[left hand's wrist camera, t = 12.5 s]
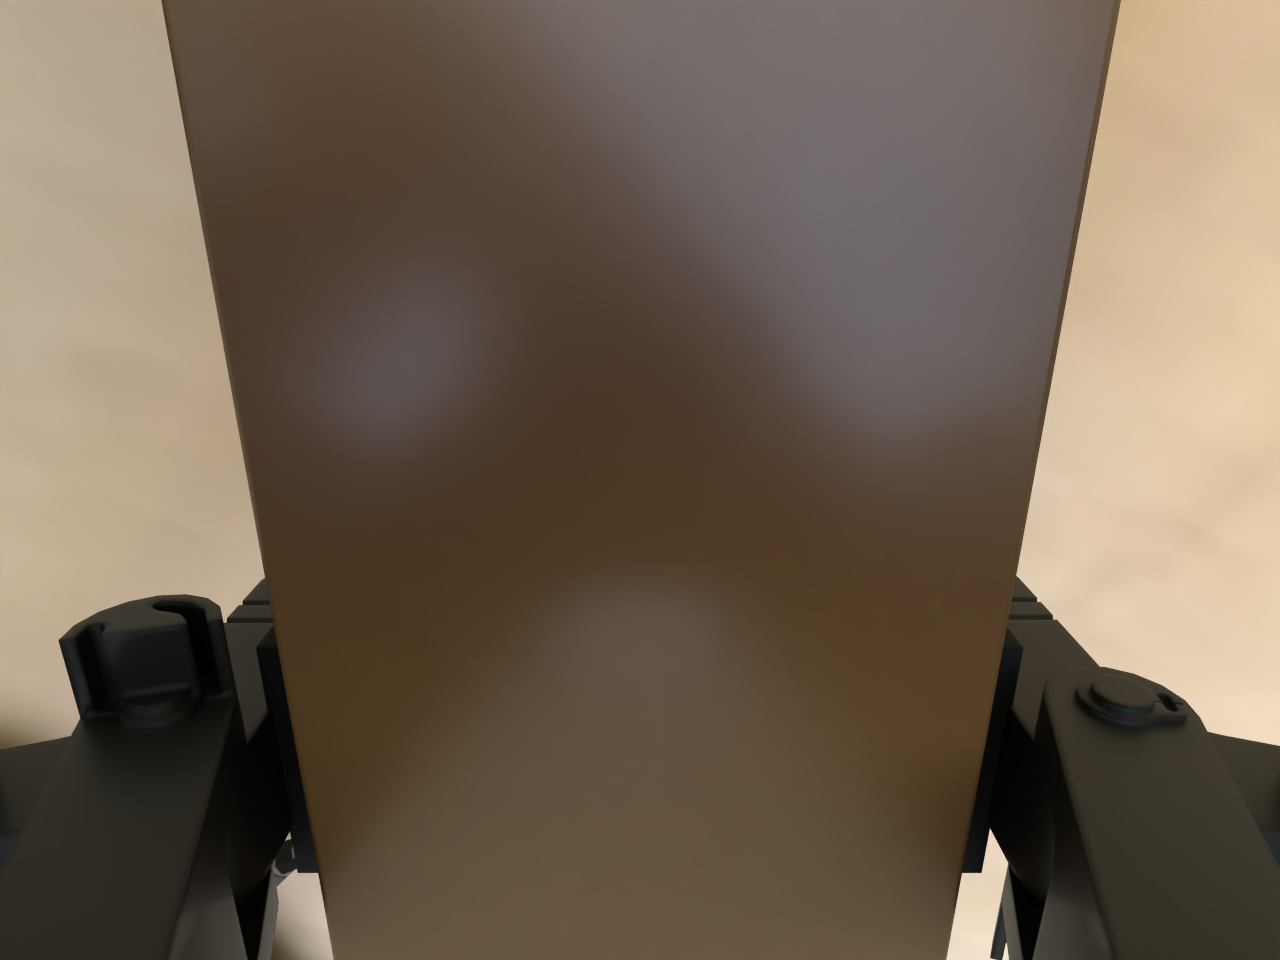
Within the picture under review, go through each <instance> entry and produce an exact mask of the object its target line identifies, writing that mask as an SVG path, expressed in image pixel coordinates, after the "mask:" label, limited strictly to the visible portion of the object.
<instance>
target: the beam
mask: <svg viewBox="0 0 1280 960" xmlns="http://www.w3.org/2000/svg"><path fill="white" fill-rule="evenodd" d="M1120 2H1121V0H162V6H163V12H164V17H165V23H166V28H167V34H168V39H169V45H170V51H171V56H172V62H173V67H174V73H175V78H176V84H177V89H178V95H179V101H180V106H181V112H182V117H183V123H184V128H185V134H186V140H187V145H188V151H189V156H190V162H191V167H192V173H193V178H194V184H195V190H196V195H197V201H198V206H199V212H200V217H201V223H202V229H203V234H204V240H205V245H206V251H207V256H208V262H209V267H210V273H211V279H212V284H213V290H214V295H215V301H216V306H217V312H218V318H219V323H220V329H221V334H222V340H223V345H224V351H225V356H226V362H227V368H228V373H229V379H230V384H231V390H232V395H233V401H234V407H235V412H236V418H237V423H238V429H239V434H240V440H241V445H242V451H243V457H244V462H245V468H246V473H247V479H248V484H249V490H250V496H251V501H252V507H253V512H254V518H255V523H256V529H257V534H258V540H259V546H260V551H261V557H262V562H263V568H264V573H265V579H266V585H267V590H268V596H269V601H270V607H271V612H272V618H273V623H274V629H275V635H276V640H277V646H278V651H279V657H280V662H281V668H282V674H283V679H284V685H285V690H286V696H287V701H288V707H289V712H290V718H291V724H292V729H293V735H294V740H295V746H296V751H297V757H298V763H299V768H300V774H301V779H302V785H303V790H304V796H305V802H306V807H307V813H308V818H309V824H310V829H311V835H312V840H313V846H314V852H315V857H316V863H317V868H318V874H319V879H320V885H321V891H322V896H323V902H324V907H325V913H326V918H327V924H328V929H329V935H330V941H331V946H332V952H333V957H334V960H946V958H947V952H948V947H949V941H950V936H951V930H952V925H953V919H954V914H955V908H956V903H957V897H958V892H959V886H960V881H961V875H962V870H963V864H964V859H965V853H966V848H967V842H968V837H969V831H970V826H971V820H972V815H973V809H974V804H975V798H976V793H977V787H978V782H979V776H980V771H981V765H982V760H983V754H984V749H985V743H986V738H987V732H988V727H989V721H990V716H991V710H992V705H993V699H994V694H995V689H996V683H997V678H998V672H999V667H1000V661H1001V656H1002V650H1003V645H1004V639H1005V634H1006V628H1007V623H1008V617H1009V612H1010V606H1011V601H1012V595H1013V590H1014V584H1015V579H1016V573H1017V568H1018V562H1019V557H1020V551H1021V546H1022V540H1023V535H1024V529H1025V524H1026V518H1027V513H1028V507H1029V502H1030V496H1031V491H1032V485H1033V480H1034V474H1035V469H1036V463H1037V458H1038V452H1039V447H1040V441H1041V436H1042V430H1043V425H1044V419H1045V414H1046V408H1047V403H1048V397H1049V392H1050V386H1051V381H1052V375H1053V370H1054V364H1055V359H1056V353H1057V348H1058V342H1059V337H1060V331H1061V326H1062V320H1063V315H1064V309H1065V304H1066V298H1067V293H1068V287H1069V282H1070V276H1071V271H1072V265H1073V260H1074V254H1075V249H1076V243H1077V238H1078V232H1079V227H1080V221H1081V216H1082V210H1083V205H1084V200H1085V194H1086V189H1087V183H1088V178H1089V172H1090V167H1091V161H1092V156H1093V150H1094V145H1095V139H1096V134H1097V128H1098V123H1099V117H1100V112H1101V106H1102V101H1103V95H1104V90H1105V84H1106V79H1107V73H1108V68H1109V62H1110V57H1111V51H1112V46H1113V40H1114V35H1115V29H1116V24H1117V18H1118V13H1119V7H1120Z"/></svg>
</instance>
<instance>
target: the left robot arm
mask: <svg viewBox="0 0 1280 960" xmlns="http://www.w3.org/2000/svg"><path fill="white" fill-rule="evenodd" d="M59 644H60V647H61V651H62V654H63V658H64V661H65V665H66V668H67V672H68V676H69V679H70V683H71V686H72V690H73V693H74V697H75V700H76V704H77V707H78V711H79V714H80V720H79V722H78V724H77V726H76V728H75V730H74V732H73V733H72V735H71V736H69V737H64V738H60V739H55V740H50V741H45V742H40V743H34V744H29V745H24V746H18V747H13V748H8V749H3V750H0V960H271V956H272V948H273V941H274V933H275V926H276V918H277V910H278V903H279V902H278V895H277V888H276V883H275V878H274V873H273V868H272V864H273V862H274V860H275V858H276V856H277V855H278V853H279V851H280V849H281V847H282V845H283V843H284V841H285V839H286V837H287V835H288V834H289V832H290V834H291V839H292V844H293V850H294V855H295V860H296V866H297V871H298V873H318V868H317V863H316V857H315V852H314V846H313V840H312V835H311V829H310V824H309V818H308V813H307V807H306V802H305V796H304V790H303V785H302V779H301V774H300V768H299V763H298V757H297V751H296V746H295V740H294V735H293V729H292V724H291V718H290V712H289V707H288V701H287V696H286V690H285V685H284V679H283V674H282V668H281V662H280V657H279V651H278V646H277V640H276V635H275V629H274V623H273V618H272V612H271V607H270V601H269V596H268V590H267V585H266V579H263V580H261V581H260V583H259V584H258V585H257V586H256V587H255V588H254V589H253V590H252V591H251V592H250V594H249V595H248V596H247V597H246V598H245V599H244V600H243V605H239V606H238V607H237V608H236V609H235V610H234V611H233V612H232V613H231V615H230V616H229V617H228V618H227V623H223V618H222V613H221V608H220V606H218V605H217V604H215V603H214V602H212V601H211V600H210V599H208V598H203V597H198V596H192V595H187V594H185V595H161V596H154V597H149V598H144V599H139V600H134V601H129V602H126V603H123V604H120V605H117V606H114V607H112V608H109V609H106V610H103V611H100V612H98V613H96V614H94V615H92V616H90V617H89V618H87V619H85V620H83V621H81V622H80V623H78V624H76V625H74V626H73V627H72V628H71V629H70V630H69V631H68V632H67V633H66V634H65V635H64V636H63V637H62V638H60V639H59ZM990 829H991V831H992V833H993V834H994V836H995V838H996V840H997V842H998V844H999V846H1000V848H1001V850H1002V852H1003V853H1004V855H1005V857H1006V859H1007V861H1008V868H1007V873H1006V878H1005V882H1004V887H1003V892H1002V897H1001V902H1000V907H999V912H998V917H997V922H996V927H995V932H994V937H993V943H992V950H991V956H990V958H992V959H996V960H1002V958H1003V953H1004V949H1005V944H1006V943H1007V946H1008V954H1009V960H1280V746H1277V745H1271V744H1266V743H1261V742H1255V741H1250V740H1245V739H1240V738H1234V737H1229V736H1224V735H1219V734H1215V733H1211V732H1207V730H1206V728H1205V726H1204V724H1203V722H1202V721H1201V719H1200V717H1199V716H1198V715H1197V714H1196V712H1195V711H1194V710H1193V709H1192V708H1191V707H1190V705H1189V704H1188V703H1187V702H1186V701H1185V700H1184V699H1182V698H1181V697H1179V696H1178V695H1176V694H1174V693H1173V692H1171V691H1170V690H1168V689H1167V688H1165V687H1164V686H1162V685H1160V684H1157V683H1155V682H1153V681H1150V680H1148V679H1145V678H1143V677H1140V676H1138V675H1136V674H1132V673H1128V672H1124V671H1120V670H1115V669H1111V668H1107V667H1100V666H1099V665H1098V664H1097V663H1096V662H1095V661H1094V660H1093V659H1092V658H1091V657H1090V656H1089V654H1088V653H1087V652H1086V651H1085V650H1084V649H1083V648H1082V647H1081V646H1080V645H1079V643H1078V642H1077V641H1076V640H1075V639H1074V638H1073V637H1072V636H1071V635H1070V634H1069V633H1068V631H1067V630H1066V629H1065V628H1064V627H1063V626H1062V625H1061V624H1060V623H1059V622H1058V620H1053V615H1052V614H1051V613H1050V612H1049V611H1048V610H1047V608H1046V607H1045V606H1044V605H1043V604H1042V603H1041V602H1037V597H1036V596H1035V595H1034V594H1033V593H1032V592H1031V591H1030V590H1029V589H1028V588H1027V587H1026V585H1025V584H1024V583H1023V582H1022V581H1021V580H1020V579H1019V578H1018V577H1017V576H1016V579H1015V584H1014V590H1013V595H1012V601H1011V606H1010V612H1009V617H1008V623H1007V628H1006V634H1005V639H1004V645H1003V650H1002V656H1001V661H1000V667H999V672H998V678H997V683H996V689H995V694H994V699H993V705H992V710H991V716H990V721H989V727H988V732H987V738H986V743H985V749H984V754H983V760H982V765H981V771H980V776H979V782H978V787H977V793H976V798H975V804H974V809H973V815H972V820H971V826H970V831H969V837H968V842H967V848H966V853H965V859H964V864H963V870H962V873H982V867H983V862H984V857H985V851H986V846H987V841H988V835H989V830H990Z"/></svg>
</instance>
